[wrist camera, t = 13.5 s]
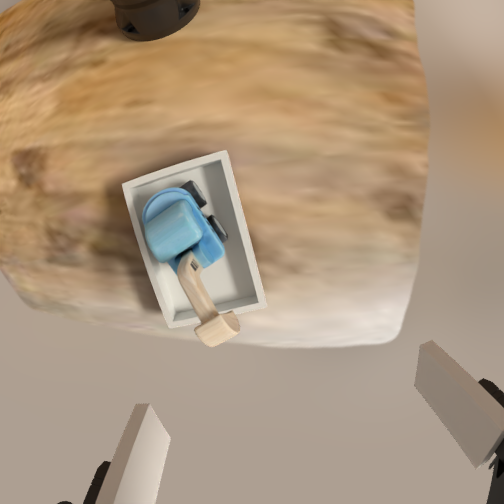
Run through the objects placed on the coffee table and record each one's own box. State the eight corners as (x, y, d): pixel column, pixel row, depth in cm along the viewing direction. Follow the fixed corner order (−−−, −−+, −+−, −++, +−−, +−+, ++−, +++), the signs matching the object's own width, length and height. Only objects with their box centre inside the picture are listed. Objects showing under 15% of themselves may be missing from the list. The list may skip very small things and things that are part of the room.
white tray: (136, 184, 39) (121, 183, 34) (228, 155, 39) (226, 149, 33) (176, 313, 44) (169, 328, 39) (264, 292, 44) (267, 307, 38)
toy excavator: (206, 302, 41) (186, 370, 24) (144, 209, 38) (81, 226, 21) (254, 273, 40) (262, 332, 24) (192, 175, 37) (153, 167, 20)
